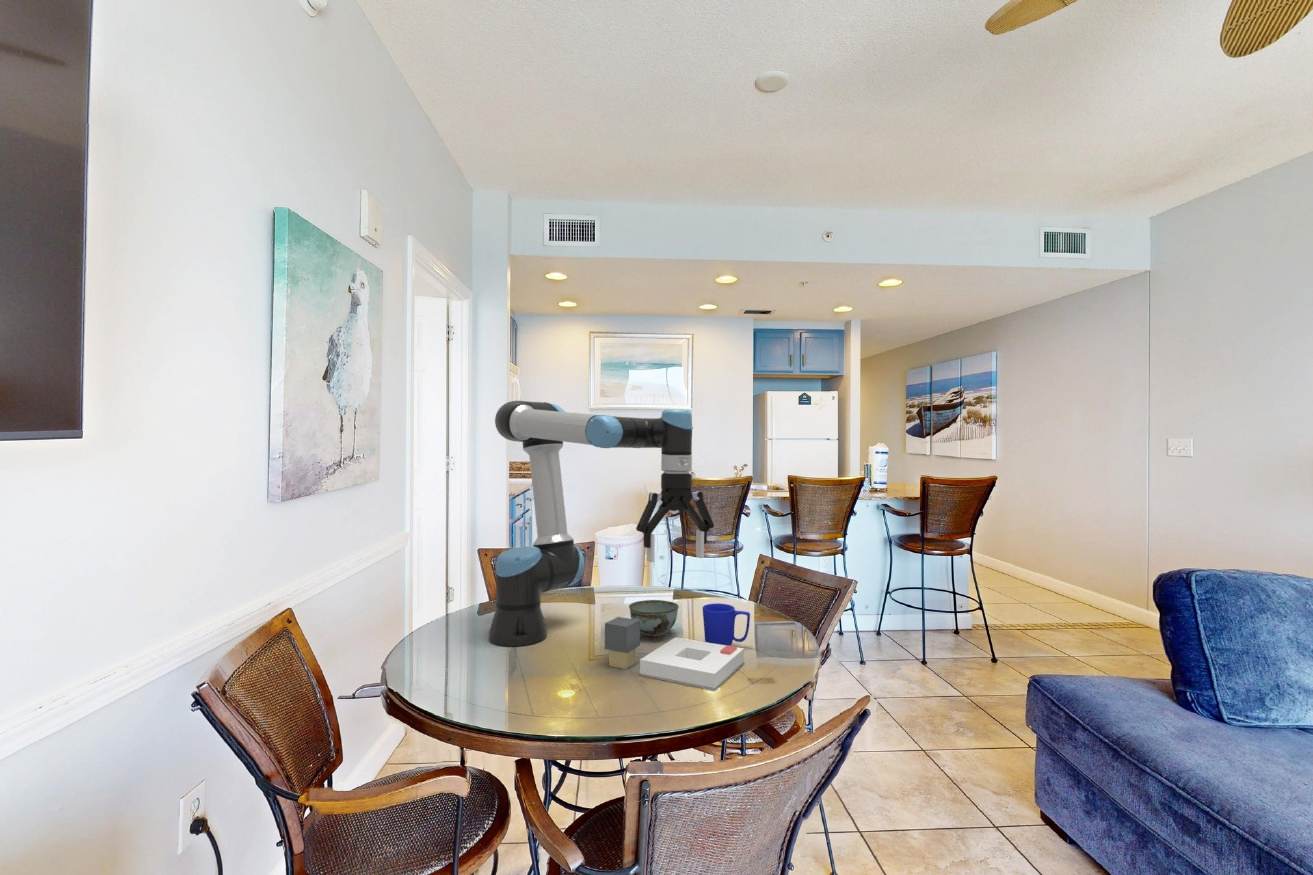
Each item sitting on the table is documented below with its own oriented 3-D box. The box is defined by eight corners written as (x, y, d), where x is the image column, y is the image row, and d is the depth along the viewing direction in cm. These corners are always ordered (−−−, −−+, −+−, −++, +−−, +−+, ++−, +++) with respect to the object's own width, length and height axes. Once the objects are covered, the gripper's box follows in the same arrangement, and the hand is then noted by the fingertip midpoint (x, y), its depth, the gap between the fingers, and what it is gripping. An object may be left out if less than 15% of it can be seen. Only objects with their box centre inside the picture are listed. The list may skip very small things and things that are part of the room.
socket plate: (639, 675, 135) (640, 656, 135) (675, 651, 150) (675, 634, 150) (714, 690, 126) (714, 670, 126) (744, 663, 142) (743, 645, 142)
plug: (604, 666, 140) (604, 623, 140) (618, 658, 145) (618, 616, 146) (626, 670, 137) (626, 626, 137) (639, 662, 143) (639, 620, 143)
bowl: (669, 645, 155) (669, 614, 155) (621, 639, 159) (621, 609, 160) (684, 630, 168) (684, 601, 168) (640, 625, 172) (640, 597, 172)
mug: (749, 654, 148) (749, 613, 149) (700, 650, 151) (700, 610, 151) (750, 643, 156) (750, 604, 157) (704, 640, 159) (704, 602, 159)
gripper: (635, 473, 139) (635, 565, 139) (728, 472, 150) (727, 558, 149) (623, 472, 146) (622, 560, 145) (712, 471, 156) (711, 552, 156)
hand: (675, 559), depth 147 cm, fingers open, 13 cm apart
